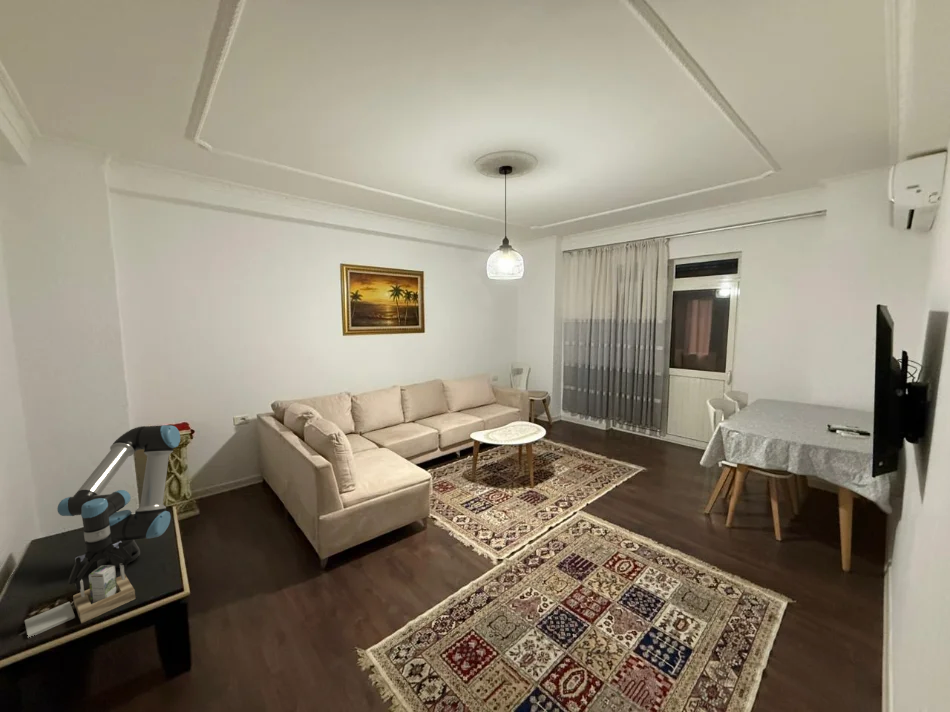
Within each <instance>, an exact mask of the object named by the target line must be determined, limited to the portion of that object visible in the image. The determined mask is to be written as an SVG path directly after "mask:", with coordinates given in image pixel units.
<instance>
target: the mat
mask: <svg viewBox="0 0 950 712" xmlns="http://www.w3.org/2000/svg"><path fill="white" fill-rule="evenodd" d="M73 619H76V615H75V613H74V610H73V608H72V604H71V602H70V601H67V602H65V603H63V604H59V605H57V606H55V607H53V608H51V609H48V610H46V611H44V612H41V613H38V614H37V615H36V614H35V615H34V616H31V617H30V618H27V619H25V620H24V624H25V629H26V635H28V636H27V638H28V639H30V638H32V637H31V636H33V637H35V636H36V635H39V634H41V633H44V632H46V631H48V630H50V629H53V628H54V627H57V626H60V625H62V624H64V623H66V622H68V621H71V620H73ZM34 635H35V636H34ZM29 637H30V638H29Z"/></svg>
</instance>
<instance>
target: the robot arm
mask: <svg viewBox="0 0 950 712" xmlns="http://www.w3.org/2000/svg"><path fill="white" fill-rule="evenodd" d="M180 442H181V432H180V430H179V429H178V428H177V427H176V426H175V425H171V424H170V425H168V424H161V425H148V426H147V425H146V426H145V425H144V426H142V425H140V426H138V427H133V428H131V429H130V430H128V431H126V432H124V433H123V434H122V435H120V436H119V437H117V439H116V440H115V441H114V442H113V443H112V444H111V445H110V447H109V452H108V453H107V454H106V455H105V457H104V458H103V459H102V461H101V462H99V464H98V466H97V467H96V468H95V469H94V470H93V471H92V473H91V474H90V475H89V477H87V479H86V480H85V482H84V483H82V485H81V487H80V488H78V490H77V491H76V492H75V494H74V495H73V496H68V497H65V498H63V499H61V500H60V501H59V503H58V506H57V508H56V509H57V513H58V514H59V515H60V516H61V517H75V516H81V519H82V526H83V536H84V538H83V539H84V546H85V553H84V554H82V555H76V556H75V557H74V565H73V567H72V570H71V572H70V575H69V577H68V580H67V581H68V584H69V585H73V584H75V589H76V591H80V592H79V593H81V596H82V597H85V594H84V591H85V588H84V587H85V586H84V580H83V578H84V576H85V574H86V573H87V572H88V570H89V569H90V567H92V565H93V564H94V562H96V564H97V568H99V567H100V566H103V565H114V566H115V569H119V571H120V576H121V578H122V580H125V575H126V573H125V572H126V571H128V564H131V563H133V562H134V561H135V560H137V559H138V558H139V557H140V555H141V550H140V547H139V546H138V544H137V542H136V541H135V540H142V539H143V540H144V539H147V540H149V539H153V538H158V537H161V536H162V535H163V534H165V532H166V530H167V529H168V527H169V526H170V523H171V518H172V517H171V513H170V511H167V506H165V505H164V496H165V489H166V483H167V482H166V481H167V474H168V467H169V466H168V465H169V458H170V455H171V454H172V453H173V452H174V449H175V448H177V447H179V445H180ZM139 450H143V454H144V455H145V456H146V462H145V468H144V469H145V470H144V476H143V477H144V478H143V484H142V492H141V497H140V506H139V507H138V508H137V509H135V510H134V511H135V513H133V514H132V510H130V509H123V508H125V506H127V505H128V504H129V502H130V501H131V494H130V493H129V492H128V491H127V490H124V489H120V490H119V489H118V490H116V491H113V492H112V493H109V494H102V493H103V491H104V490H105V488H106V487H107V486H108V485H109V484H110V482H111V480H112V479H113V478H114V476H115V475H116V474H117V473H118V471H119V470H120V468H121V467H122V466H123V465H124V463H125V462H126V461H127V460H128V458H129V457H132V456H133V455H134V454H135V452H137V451H139ZM122 509H123V510H122ZM138 556H139V557H138ZM137 557H138V558H137ZM85 558H86V559H87V560H86V562H85V563H84V565H83V567H82V568H81V569H80V566H81V562H83V561H84V559H85ZM136 558H137V559H136ZM130 562H131V563H130ZM79 569H80V571H79ZM78 571H79V573H78Z"/></svg>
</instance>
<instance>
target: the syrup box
mask: <svg viewBox="0 0 950 712" xmlns="http://www.w3.org/2000/svg"><path fill="white" fill-rule="evenodd" d="M116 571H117V570H116V568H115V566H114V565H103V566H100V567H99V568H98V567H97V568H96V569H94V570H93V571H91V573H89V574H88V583H89V585H88V586H89V589H90V596H91V602H90V603H91V604H93V603H96V602H98V601H100V600H102V599H105V598H107V597H109V596H112V595H114V594H116V593H118V591H117V583H116V578H117V575H116V574H117V573H116Z"/></svg>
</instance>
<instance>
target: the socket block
mask: <svg viewBox="0 0 950 712" xmlns="http://www.w3.org/2000/svg"><path fill="white" fill-rule="evenodd" d="M116 583H117V593H116V594H114V595H112V596H109V597H107V598H105V599H102V600H100V601H98V602H96V603H93V604H91V596H90V588H88V589H86V590H84V594H85V597H82V596H81V592H79V593H76V594H74V595H73V596H72V598H73V599H72V600H73V605H74V607H75V611H76V613H77V616H78V619H79V621H80V624H83V623H86V622H87V621H90V620H92V619H94V618H97V617H99V616H101V615H103V614H105V613H108V612H110V611H113V610H114V609H117V608H119V607H121V606H123V605H125V604H127V603H129V602H131V601H134V600H135V599H136V590H135V588H134V586H133V585H132V584H131V582H130V580H129V578H128V577H127V575H126V574H125V580H122V578H121V575H120V576H118V577H117V576H116Z"/></svg>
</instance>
